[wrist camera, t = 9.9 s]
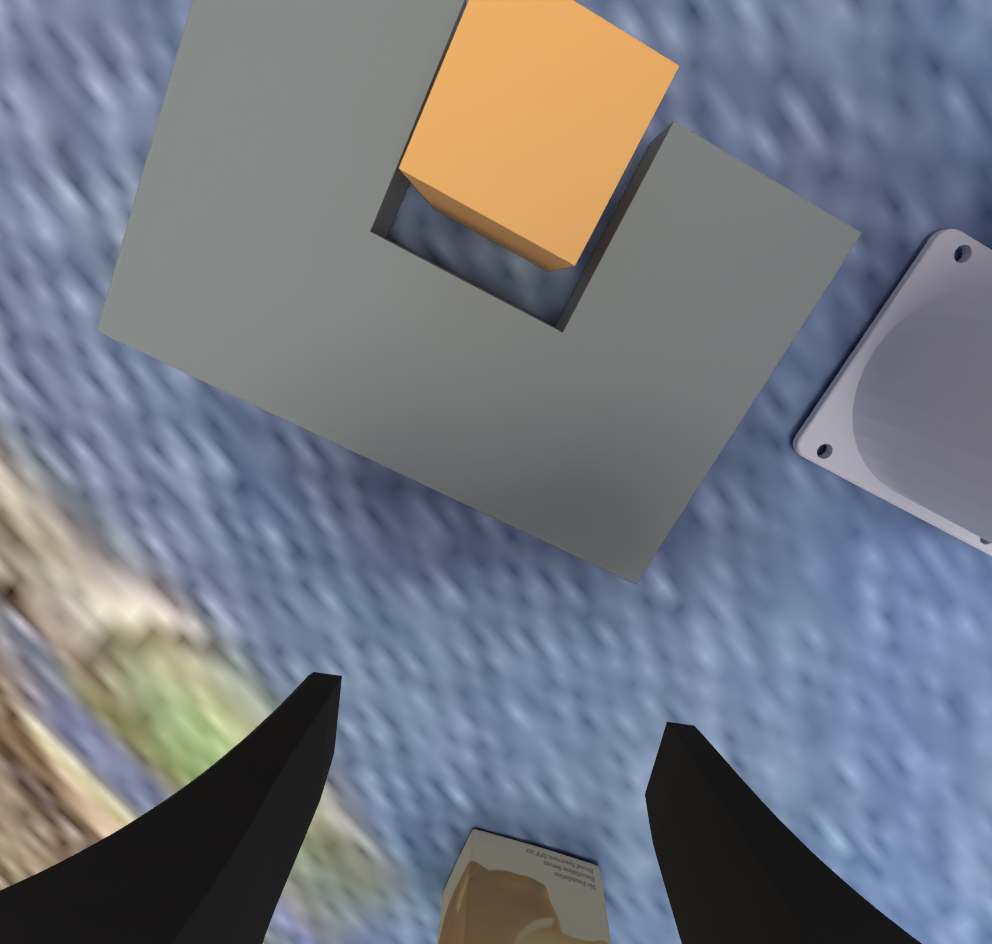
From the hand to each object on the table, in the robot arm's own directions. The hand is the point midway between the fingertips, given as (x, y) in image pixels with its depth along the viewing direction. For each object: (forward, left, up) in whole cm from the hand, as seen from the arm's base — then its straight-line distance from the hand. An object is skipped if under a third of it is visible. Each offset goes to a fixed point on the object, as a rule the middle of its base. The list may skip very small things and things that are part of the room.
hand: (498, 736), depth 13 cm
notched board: (+5, -8, -9) cm, 13 cm away
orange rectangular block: (+5, -11, -10) cm, 16 cm away
